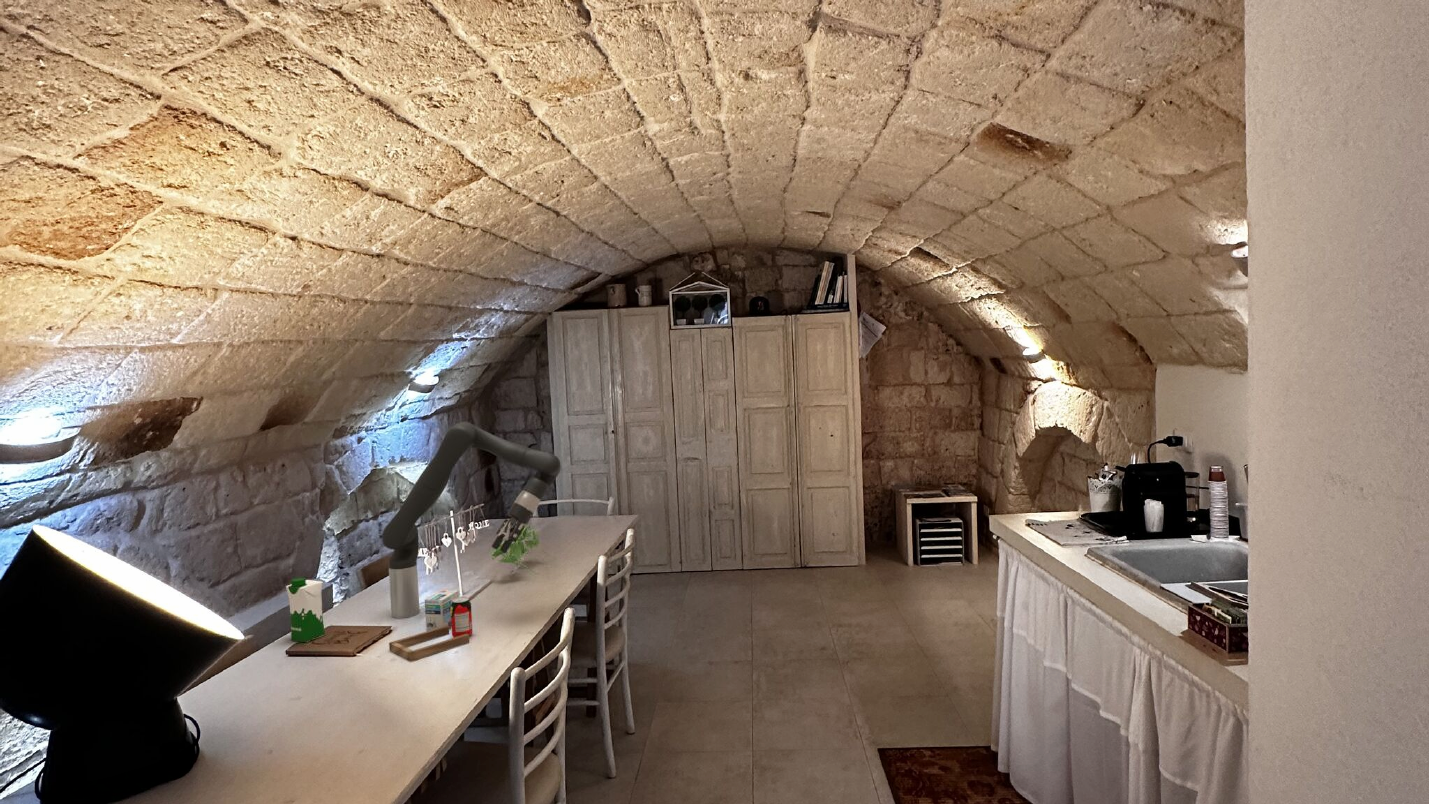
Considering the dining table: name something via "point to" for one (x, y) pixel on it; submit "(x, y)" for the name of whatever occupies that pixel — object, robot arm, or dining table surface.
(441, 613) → the light bulb box
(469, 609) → the beverage can
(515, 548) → the plant cuttings
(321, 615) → the milk carton
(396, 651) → the frame
